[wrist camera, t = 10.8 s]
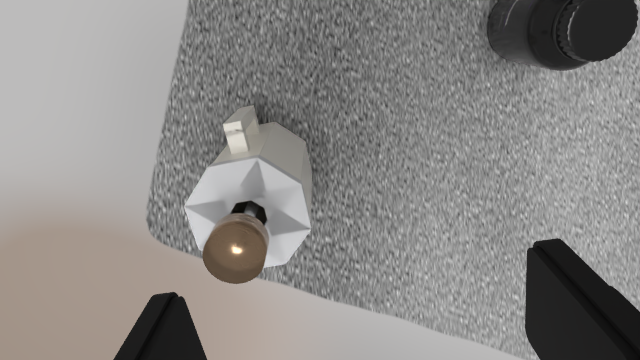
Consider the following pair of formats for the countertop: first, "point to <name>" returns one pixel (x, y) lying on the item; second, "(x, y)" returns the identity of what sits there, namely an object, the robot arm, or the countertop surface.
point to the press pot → (257, 184)
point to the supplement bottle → (561, 31)
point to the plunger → (237, 246)
